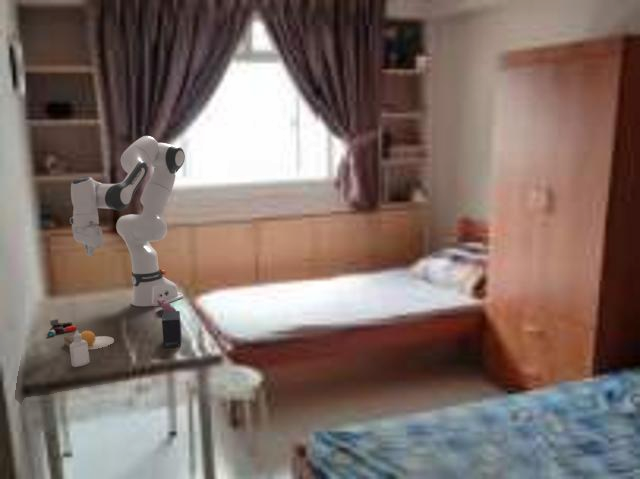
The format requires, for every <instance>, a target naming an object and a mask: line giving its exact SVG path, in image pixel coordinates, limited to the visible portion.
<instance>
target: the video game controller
mask: <svg viewBox="0 0 640 479" xmlns="http://www.w3.org/2000/svg"><path fill="white" fill-rule="evenodd" d="M157 302H158V304H157V305H158V306H157V307H161V309H162V310H163V312H169V311H177V309H176V308H175V307H174V306H172V305H171V303H170V302H169V303H168V302H167V301H166V300H165V299H162V298H161V299H159V300H158V301H157Z"/></svg>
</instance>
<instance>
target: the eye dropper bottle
mask: <svg viewBox="0 0 640 479" xmlns="http://www.w3.org/2000/svg"><path fill="white" fill-rule="evenodd" d="M73 337H74V342H72V343H71V344H70V347H69V353H70V360H71V366H72V367H74V368H80V367H83V366H86V365H87V364H90V353H89V350H88V344H87V341H85V340H82V336H81V333H80V332H79V330H77V329H76V330H75V333H74V334H73Z"/></svg>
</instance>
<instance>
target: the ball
mask: <svg viewBox="0 0 640 479" xmlns="http://www.w3.org/2000/svg"><path fill="white" fill-rule="evenodd" d="M80 334H81V336H82V340H85V341H87V344H88V346H91V345H92V344H93V343H94V342H95V337H96V335H95V333H94V332H93V331H91V330H84V331H82V332H81V333H80Z"/></svg>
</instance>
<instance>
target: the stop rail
mask: <svg viewBox="0 0 640 479" xmlns="http://www.w3.org/2000/svg"><path fill="white" fill-rule="evenodd" d="M63 338H64V340H63V341H64V345H66V347H67V348H70V344H71V343H72V342H74V335H71V334H69V335H66V336H64V337H63Z"/></svg>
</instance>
